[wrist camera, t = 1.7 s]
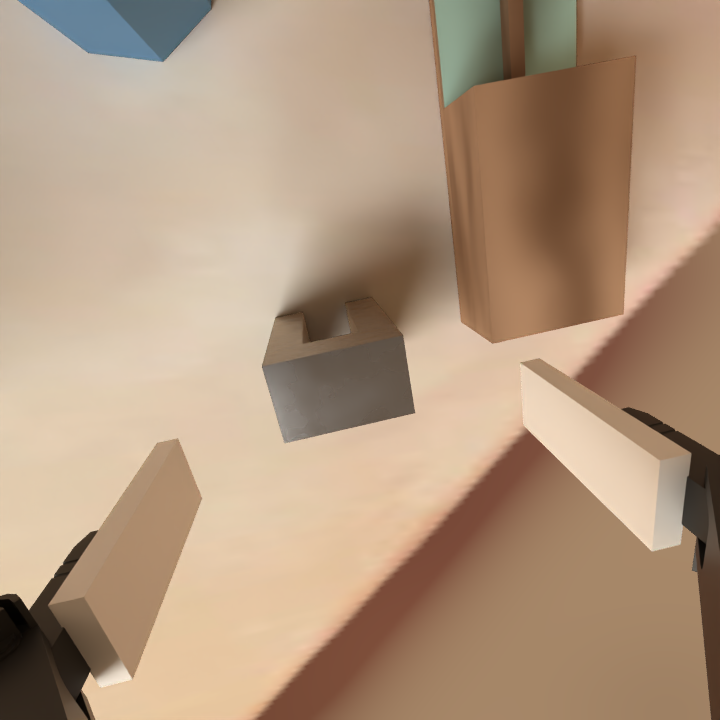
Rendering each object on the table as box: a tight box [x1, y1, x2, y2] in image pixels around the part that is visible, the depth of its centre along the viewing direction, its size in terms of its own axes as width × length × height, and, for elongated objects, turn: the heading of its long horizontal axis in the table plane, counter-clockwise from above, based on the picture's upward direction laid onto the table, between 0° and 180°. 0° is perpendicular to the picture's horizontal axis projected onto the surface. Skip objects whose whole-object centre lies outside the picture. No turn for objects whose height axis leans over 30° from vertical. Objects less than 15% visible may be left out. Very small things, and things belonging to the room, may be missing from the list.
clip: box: [262, 297, 415, 443], centre depth 23 cm, size 6×4×9 cm, turn 101°
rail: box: [429, 0, 636, 343], centre depth 21 cm, size 8×28×5 cm, turn 11°
